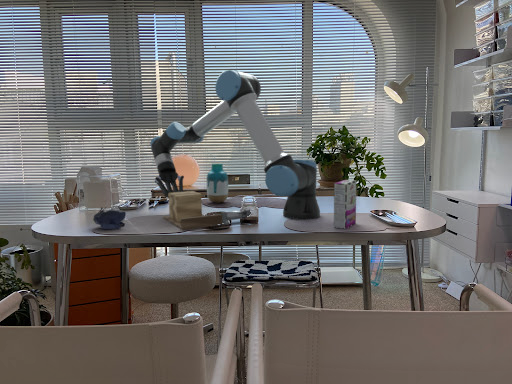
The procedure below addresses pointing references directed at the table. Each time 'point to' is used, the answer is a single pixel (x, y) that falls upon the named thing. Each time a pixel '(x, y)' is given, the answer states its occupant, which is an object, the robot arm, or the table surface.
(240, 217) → the winch
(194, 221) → the brown flat slab
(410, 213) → the table surface
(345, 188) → the candy bar box
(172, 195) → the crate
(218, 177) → the vase
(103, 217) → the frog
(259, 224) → the table surface
